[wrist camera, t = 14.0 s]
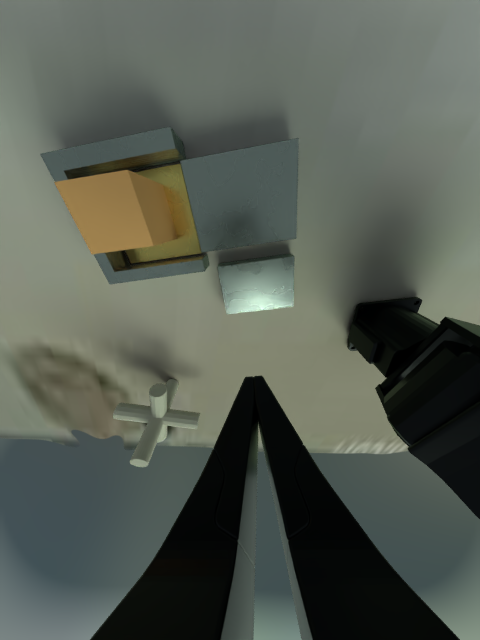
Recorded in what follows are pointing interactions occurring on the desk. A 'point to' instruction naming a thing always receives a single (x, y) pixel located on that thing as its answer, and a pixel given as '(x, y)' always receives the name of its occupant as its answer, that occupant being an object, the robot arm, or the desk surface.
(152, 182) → the block
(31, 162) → the desk surface
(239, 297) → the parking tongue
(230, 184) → the sliding lid box
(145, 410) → the pipe connector
